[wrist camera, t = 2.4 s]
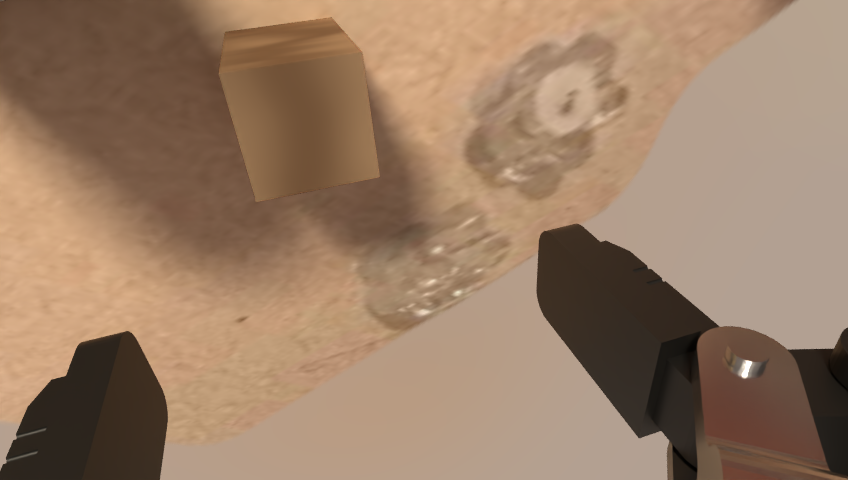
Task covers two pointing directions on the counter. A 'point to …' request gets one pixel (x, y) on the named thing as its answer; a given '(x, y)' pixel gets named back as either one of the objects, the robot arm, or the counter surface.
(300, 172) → the walnut block
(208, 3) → the counter surface
